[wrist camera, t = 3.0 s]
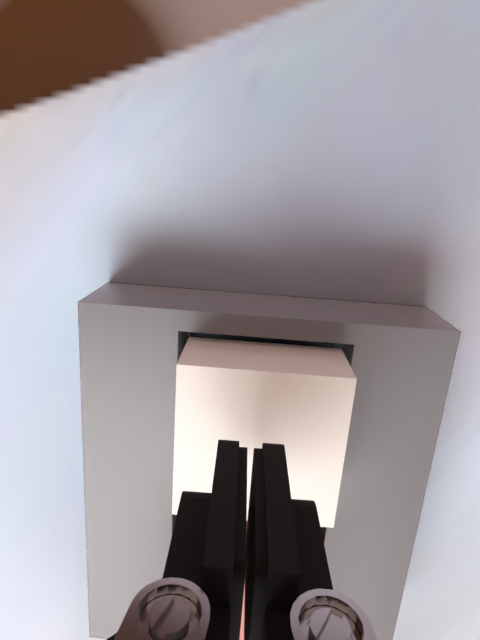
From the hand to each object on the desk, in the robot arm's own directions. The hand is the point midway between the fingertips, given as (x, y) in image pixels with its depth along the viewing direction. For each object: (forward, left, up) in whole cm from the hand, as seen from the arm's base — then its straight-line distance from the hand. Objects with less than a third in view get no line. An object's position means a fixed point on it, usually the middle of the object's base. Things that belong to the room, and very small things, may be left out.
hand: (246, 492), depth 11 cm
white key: (0, 0, -4) cm, 4 cm away
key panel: (0, +3, -7) cm, 8 cm away
